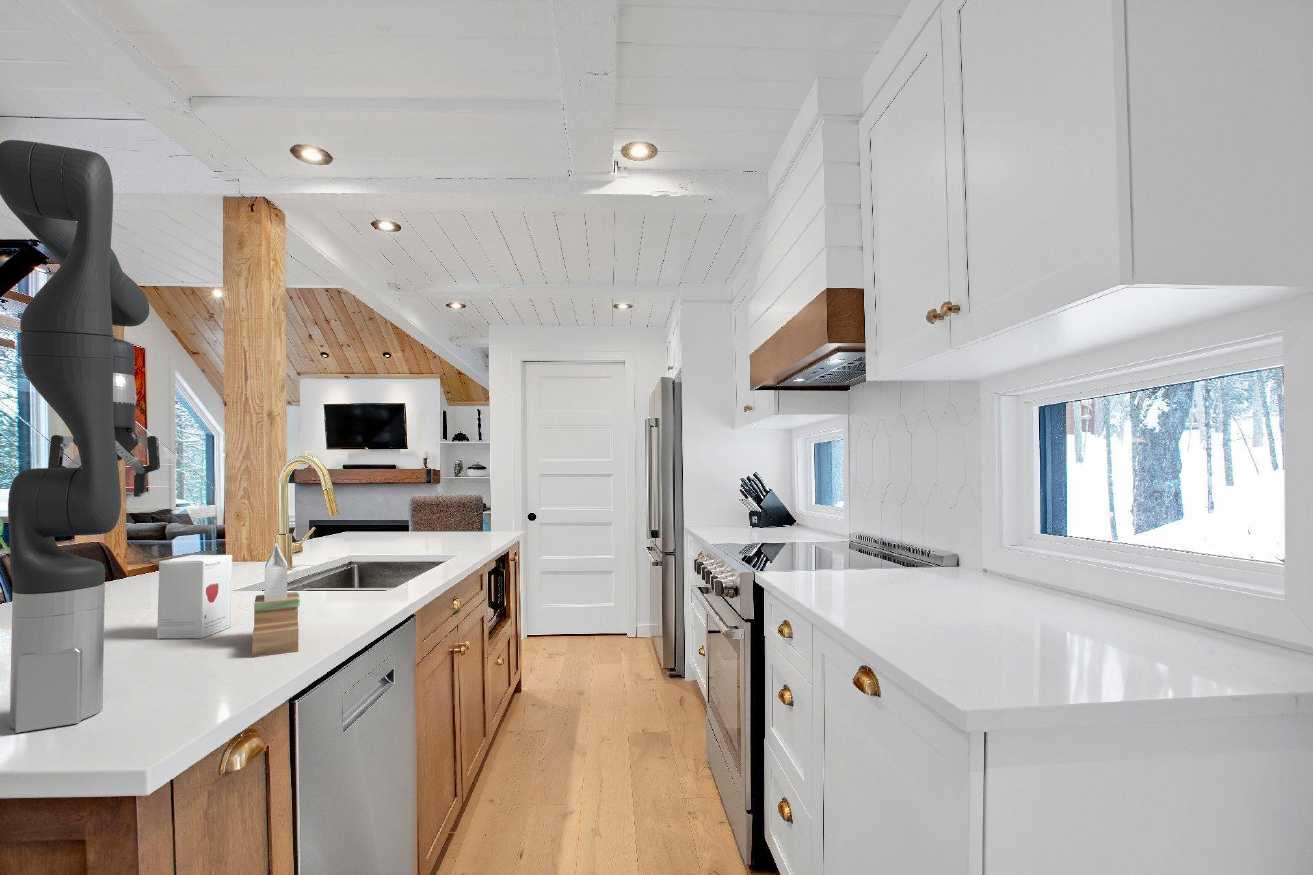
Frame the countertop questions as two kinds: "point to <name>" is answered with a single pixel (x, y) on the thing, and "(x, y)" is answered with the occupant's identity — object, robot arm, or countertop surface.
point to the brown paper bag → (275, 625)
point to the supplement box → (194, 596)
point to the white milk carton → (275, 576)
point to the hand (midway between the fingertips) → (105, 497)
